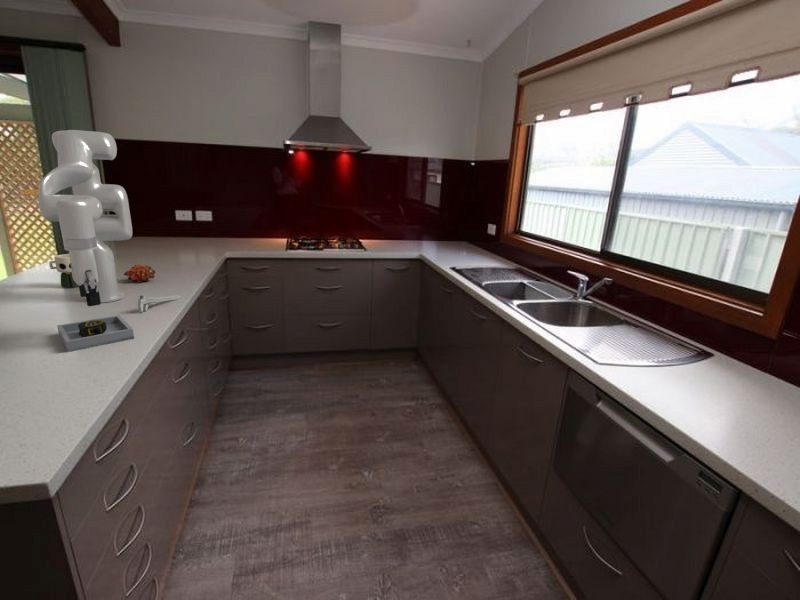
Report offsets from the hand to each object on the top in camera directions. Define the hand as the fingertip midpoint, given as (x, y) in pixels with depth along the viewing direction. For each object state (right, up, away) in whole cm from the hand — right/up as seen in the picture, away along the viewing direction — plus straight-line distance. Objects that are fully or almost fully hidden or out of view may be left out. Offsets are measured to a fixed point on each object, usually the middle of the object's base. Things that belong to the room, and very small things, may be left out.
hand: (90, 300), depth 123 cm
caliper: (+2, -2, +33) cm, 34 cm away
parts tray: (0, -11, +3) cm, 11 cm away
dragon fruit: (-23, +8, +61) cm, 66 cm away
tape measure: (-1, -11, +2) cm, 11 cm away
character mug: (-44, +5, +49) cm, 66 cm away
